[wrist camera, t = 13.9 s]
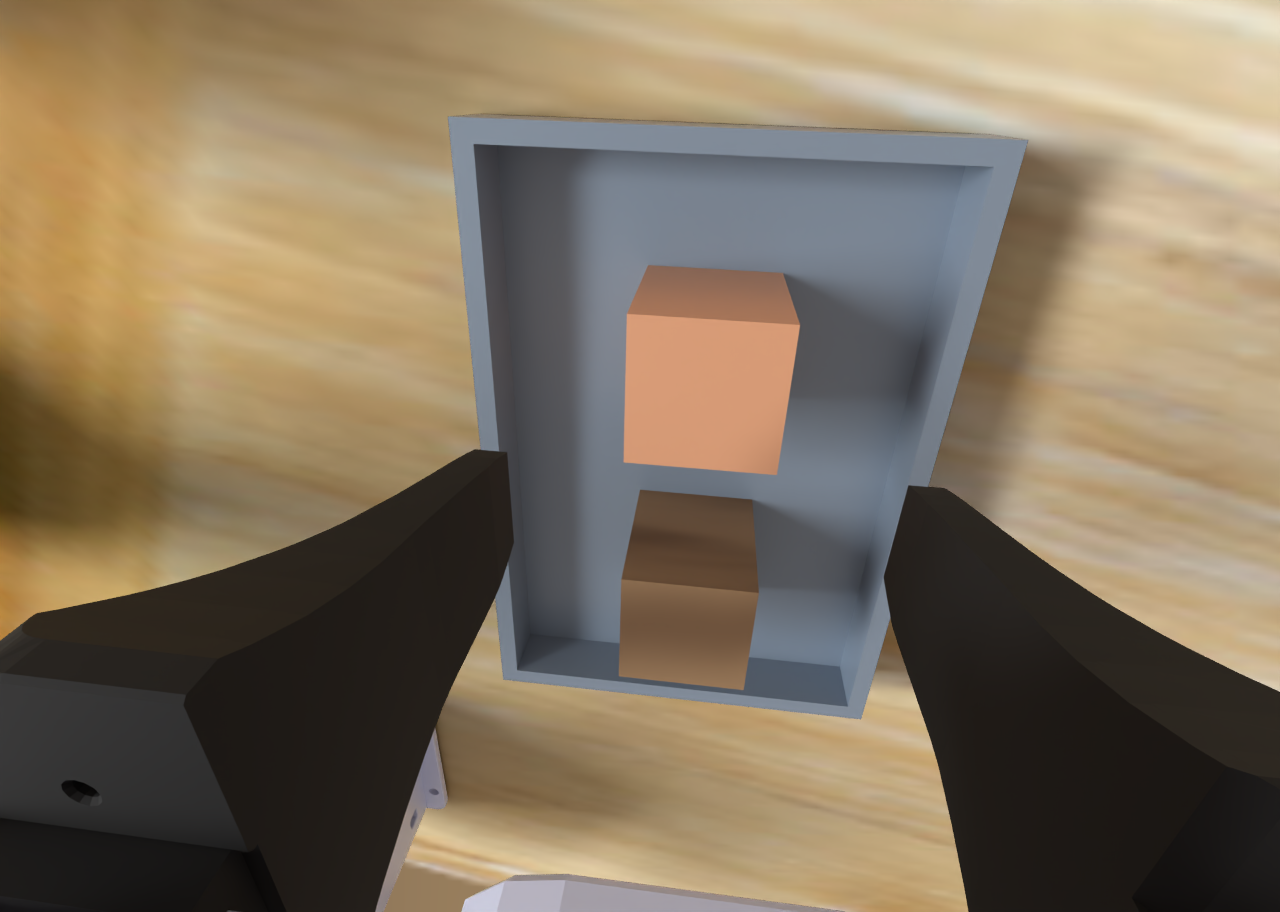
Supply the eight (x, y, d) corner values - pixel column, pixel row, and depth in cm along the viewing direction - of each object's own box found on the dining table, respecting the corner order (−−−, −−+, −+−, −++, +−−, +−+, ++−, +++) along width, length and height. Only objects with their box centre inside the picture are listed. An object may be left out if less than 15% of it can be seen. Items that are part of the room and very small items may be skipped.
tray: (849, 669, 27) (861, 719, 25) (520, 634, 28) (503, 679, 26) (990, 134, 18) (1028, 140, 15) (479, 113, 19) (448, 116, 16)
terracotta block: (765, 397, 21) (776, 475, 17) (643, 388, 22) (623, 462, 17) (782, 273, 19) (799, 324, 15) (648, 265, 20) (626, 314, 15)
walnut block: (740, 587, 25) (743, 690, 21) (636, 576, 26) (618, 676, 21) (752, 499, 23) (759, 592, 19) (640, 489, 24) (621, 579, 19)
